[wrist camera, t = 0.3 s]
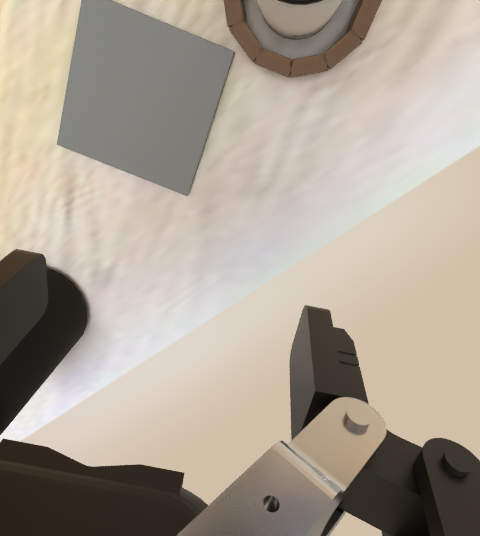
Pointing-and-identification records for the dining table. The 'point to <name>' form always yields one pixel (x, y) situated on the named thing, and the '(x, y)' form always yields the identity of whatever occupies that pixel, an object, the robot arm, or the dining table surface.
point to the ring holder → (307, 64)
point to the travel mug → (297, 16)
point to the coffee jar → (41, 347)
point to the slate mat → (141, 94)
